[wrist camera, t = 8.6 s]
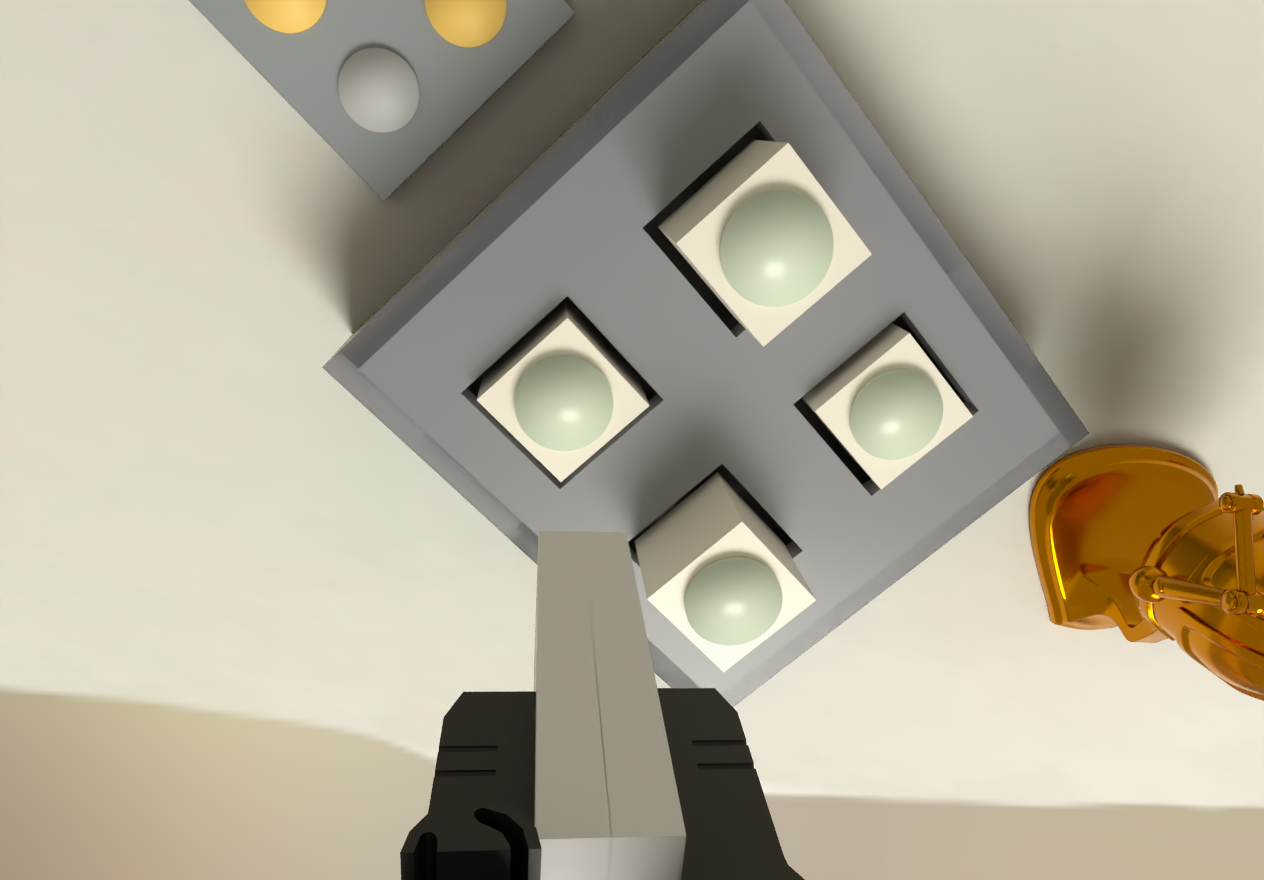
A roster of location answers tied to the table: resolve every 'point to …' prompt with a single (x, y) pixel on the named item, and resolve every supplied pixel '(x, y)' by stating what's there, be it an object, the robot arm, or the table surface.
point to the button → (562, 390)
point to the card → (386, 67)
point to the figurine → (1154, 555)
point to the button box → (713, 337)
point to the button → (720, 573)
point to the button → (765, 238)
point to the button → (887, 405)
